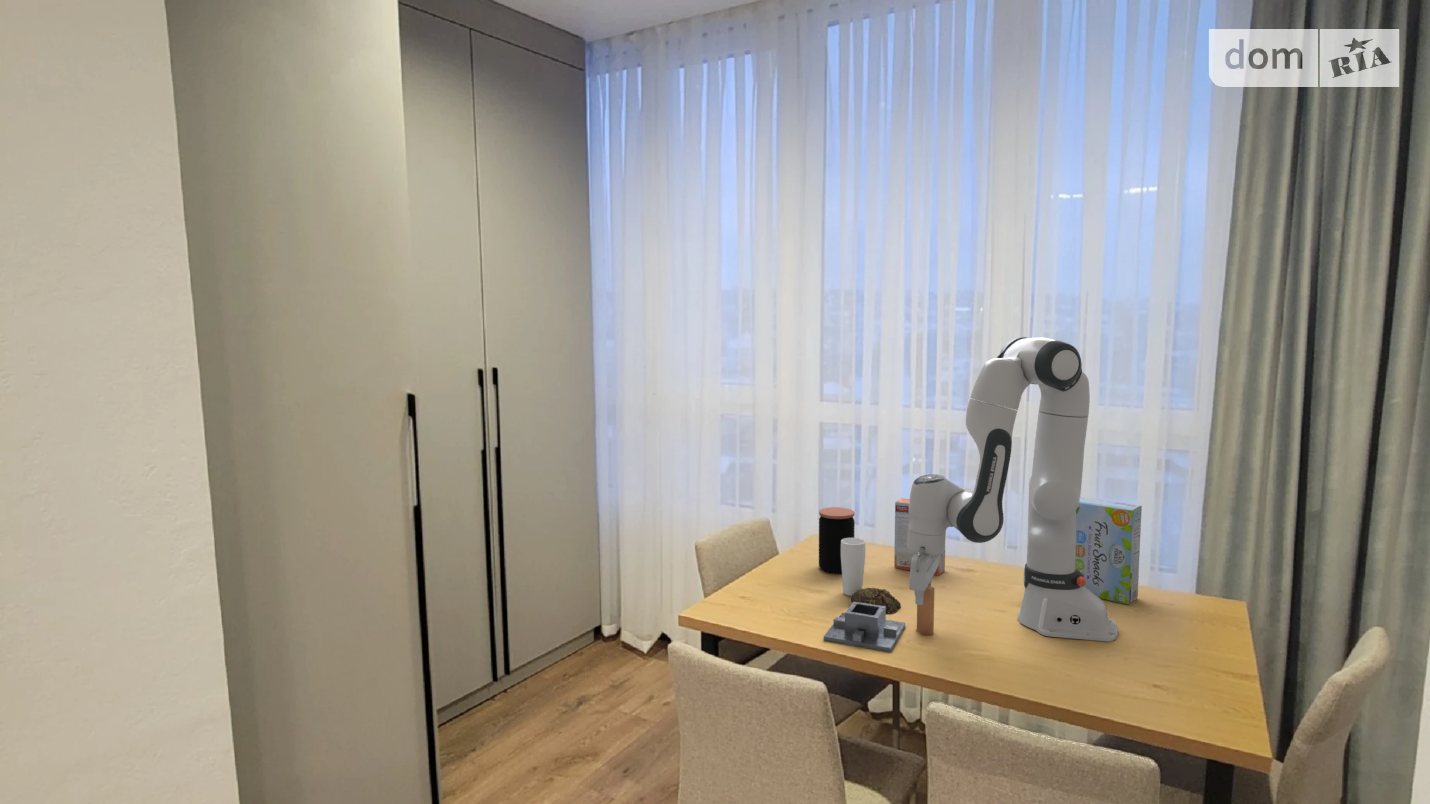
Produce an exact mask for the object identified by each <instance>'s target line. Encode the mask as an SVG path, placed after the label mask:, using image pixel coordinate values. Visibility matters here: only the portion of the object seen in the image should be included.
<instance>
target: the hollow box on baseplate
mask: <svg viewBox="0 0 1430 804" xmlns="http://www.w3.org/2000/svg"><path fill="white" fill-rule="evenodd" d="M886 617H887V612H886V606H880V605H873V604H867V603H860V602H853V603H852V602H851V604H850V606H849V607H848V608H847V609H846V610H845V612H842V613H841V614H840V615H839V616H835V617H834V618H833V623H832V625H831V627H830V628H828V629H827V631H826V632H825V634H824V635H823V641H825V642H830V643H836V644H841V645H847V646H854V647H860V648H864V649H868V650H869V649H870V650H877V651H883V652H887V653H891V652H892V651H893V649H894V648H895V646H896V644H897V642H898V641H899V638H900V636H901V635H902V634H903V631H904V630H905V628H906V622H902V621H896V620H889V619H886Z"/></svg>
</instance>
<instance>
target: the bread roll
mask: <svg viewBox="0 0 1430 804" xmlns="http://www.w3.org/2000/svg"><path fill="white" fill-rule="evenodd" d="M853 602H860V603H867V604H873V605H880V606H886V614H887V613H888V614H896V613H897V612H898V610H899V609H901V607H902V605H901V602H900V601H899V600H898V599H897V598H895V596H893V595H892V594H891V593H890V592H889V591H888V590H887V589H885V588H877V587H865V588H862V589H861V590H857V591H856V592H854V594H853V595H852V596H850V603H851V604H852V603H853Z"/></svg>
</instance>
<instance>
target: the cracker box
mask: <svg viewBox="0 0 1430 804" xmlns="http://www.w3.org/2000/svg"><path fill="white" fill-rule="evenodd" d="M909 502H910V498H903V497H902V498H900V499H898V500H896V501H895V502H894V506H895V507H894V509H895V511H894V562H893V563H894V568H895V569H900V570H901V569H902V570H906V571H910V568H911V561H912V558H913V555H912V551H911V550H909V549H908V548H907V537H908V525H909V522H910V514H909ZM945 571H946V550H945V551H944V552H943V553H941V554H940V561H939V565H938V568H937V570H936V571H935V573H934V575H933V576H940V575H942V573H943V572H945Z"/></svg>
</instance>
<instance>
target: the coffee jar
mask: <svg viewBox="0 0 1430 804" xmlns="http://www.w3.org/2000/svg"><path fill="white" fill-rule="evenodd" d="M818 514H819V516H820V517H819V518H818V567H819V569H820V570H821V571H822V572H824V573H825V574H830V575H842V567H841V540H842V539H845V538H855V518H854V516H855V510H853V509H851V508H847V507H846V508H845V507H839V506H837V507H835V506H832V507H823V508H822V509H819V510H818Z"/></svg>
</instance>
